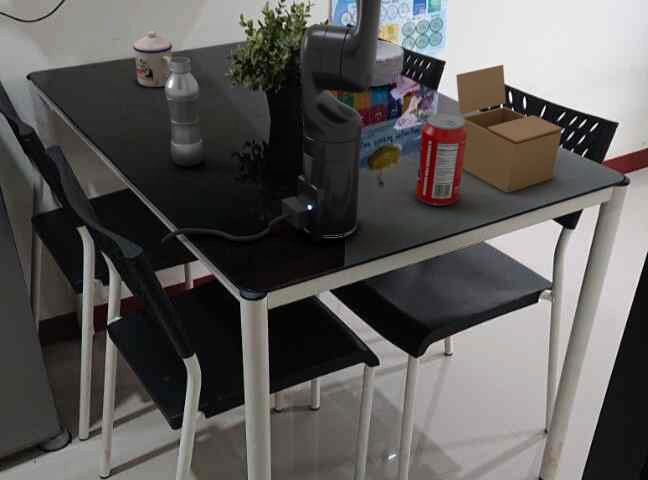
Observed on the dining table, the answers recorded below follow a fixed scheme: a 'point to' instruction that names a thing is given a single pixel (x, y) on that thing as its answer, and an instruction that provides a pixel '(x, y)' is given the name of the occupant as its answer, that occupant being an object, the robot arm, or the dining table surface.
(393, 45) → the paper bowls
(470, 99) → the flap
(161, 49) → the teacup with lid
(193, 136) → the plastic bottle
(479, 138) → the carton
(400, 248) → the dining table surface
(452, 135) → the soda can
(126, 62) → the dining table surface
